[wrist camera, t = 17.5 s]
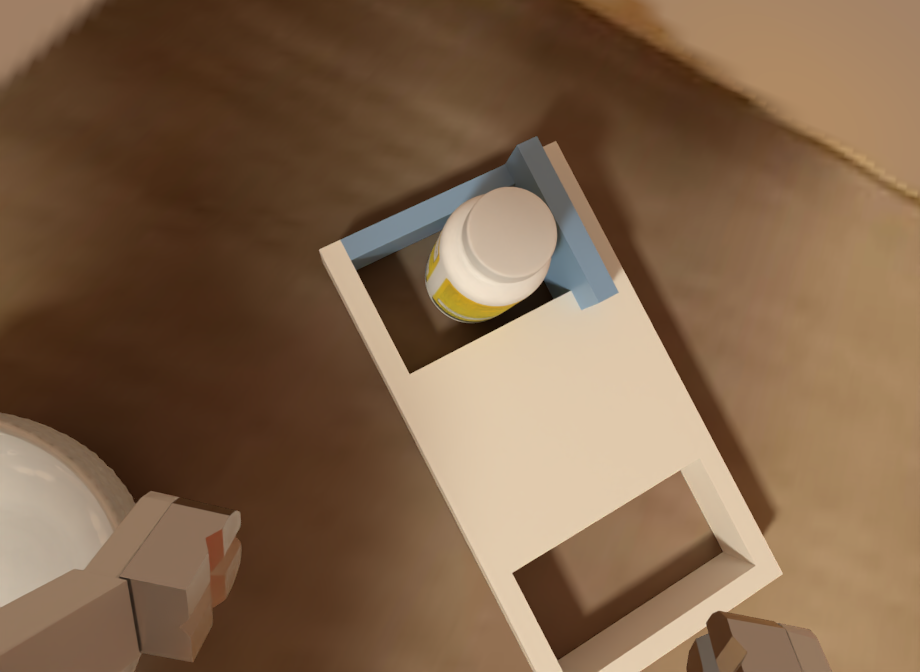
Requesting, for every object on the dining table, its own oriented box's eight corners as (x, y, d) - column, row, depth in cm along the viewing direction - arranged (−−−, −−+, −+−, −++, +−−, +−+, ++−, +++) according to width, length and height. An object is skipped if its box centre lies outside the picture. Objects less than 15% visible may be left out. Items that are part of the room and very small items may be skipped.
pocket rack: (545, 694, 33) (581, 752, 28) (322, 262, 33) (315, 236, 28) (748, 559, 36) (817, 588, 30) (540, 161, 36) (571, 120, 31)
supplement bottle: (526, 309, 35) (589, 275, 25) (440, 335, 34) (470, 311, 24) (499, 222, 35) (550, 157, 26) (412, 246, 34) (431, 187, 25)
